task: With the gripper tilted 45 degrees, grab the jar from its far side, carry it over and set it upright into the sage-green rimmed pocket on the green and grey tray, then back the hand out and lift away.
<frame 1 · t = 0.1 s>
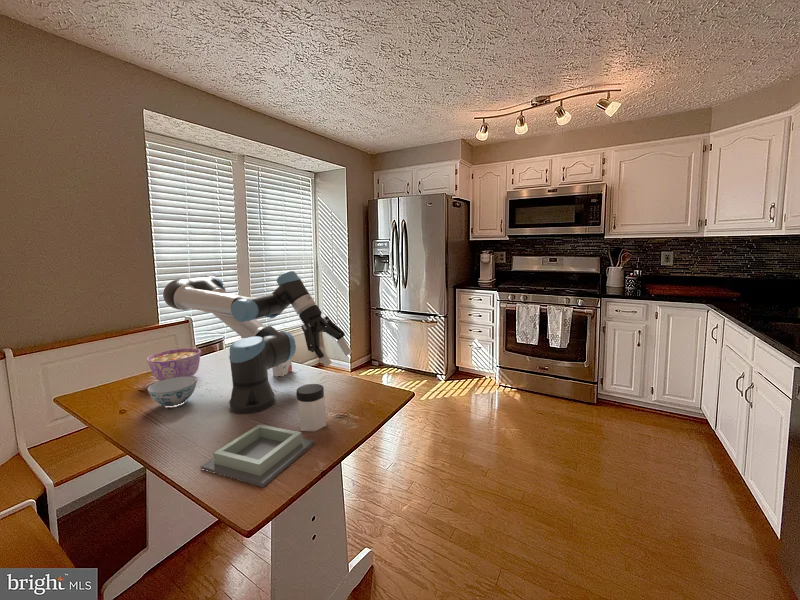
hand: (339, 359, 130), 15 cm above the table, tool tilted 35°, fingers open, 13 cm apart
jar: (312, 425, 115), on the table
bowl of food: (177, 380, 159), on the table
green and grey tray: (260, 456, 98), on the table
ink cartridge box: (282, 373, 164), on the table
chinaware: (175, 404, 134), on the table
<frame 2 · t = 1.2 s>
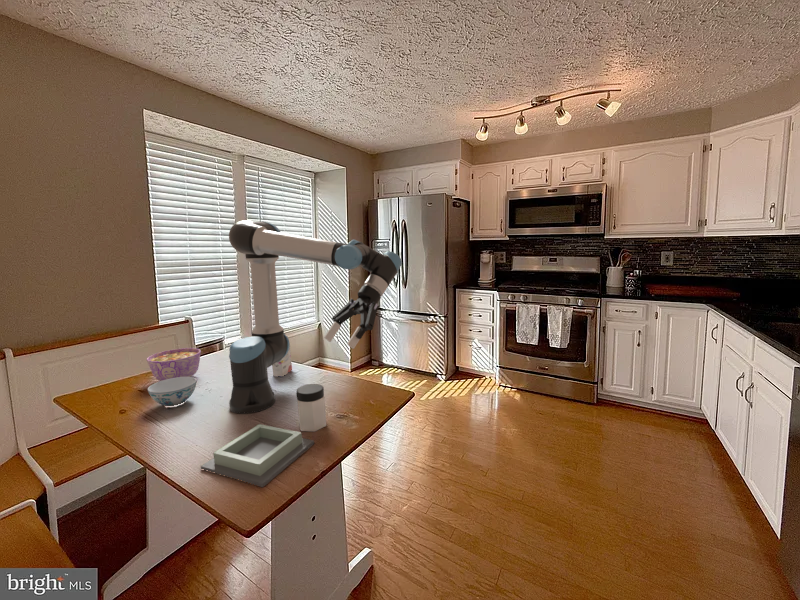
hand: (338, 343, 118), 24 cm above the table, tool tilted 45°, fingers open, 13 cm apart
nothing on the table moved.
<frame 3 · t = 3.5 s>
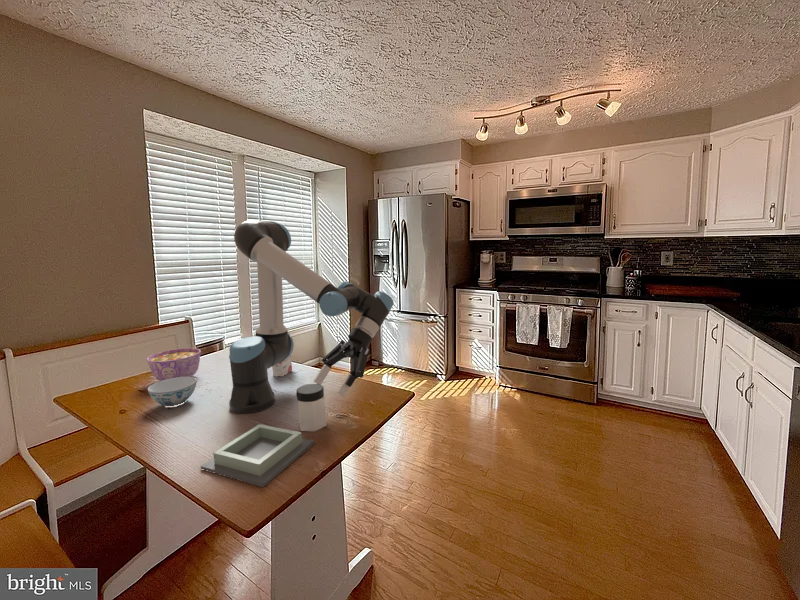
hand: (327, 388, 116), 11 cm above the table, tool tilted 45°, fingers open, 13 cm apart
nothing on the table moved.
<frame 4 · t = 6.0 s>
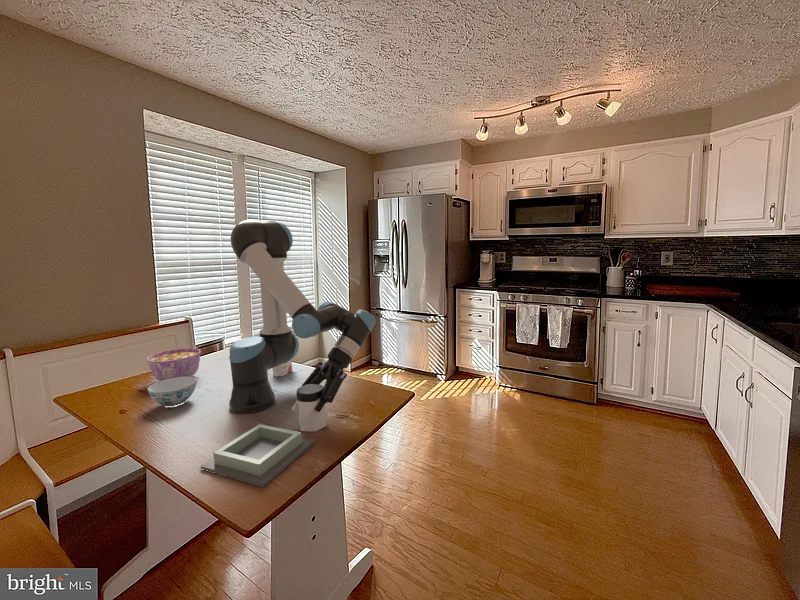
hand: (301, 415, 112), 4 cm above the table, tool tilted 45°, fingers closed on jar, 8 cm apart
jar: (312, 426, 114), on the table, touching gripper
everything else where it was.
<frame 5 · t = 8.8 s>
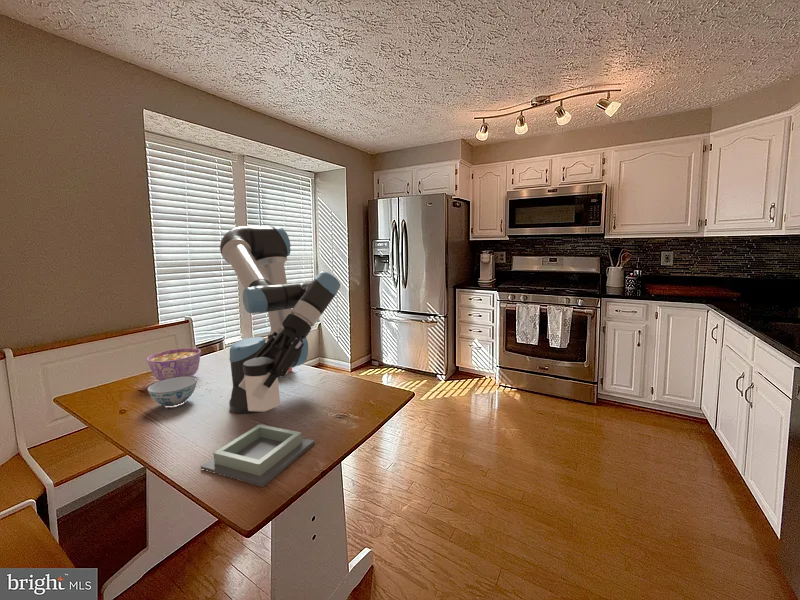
hand: (249, 392, 94), 18 cm above the table, tool tilted 45°, fingers closed on jar, 8 cm apart
jar: (264, 405, 97), point 14 cm above the table, touching gripper
everything else where it was.
when the fingers open (7 cm above the table, at t = 11.6 s): jar drops 1 cm, resting on green and grey tray.
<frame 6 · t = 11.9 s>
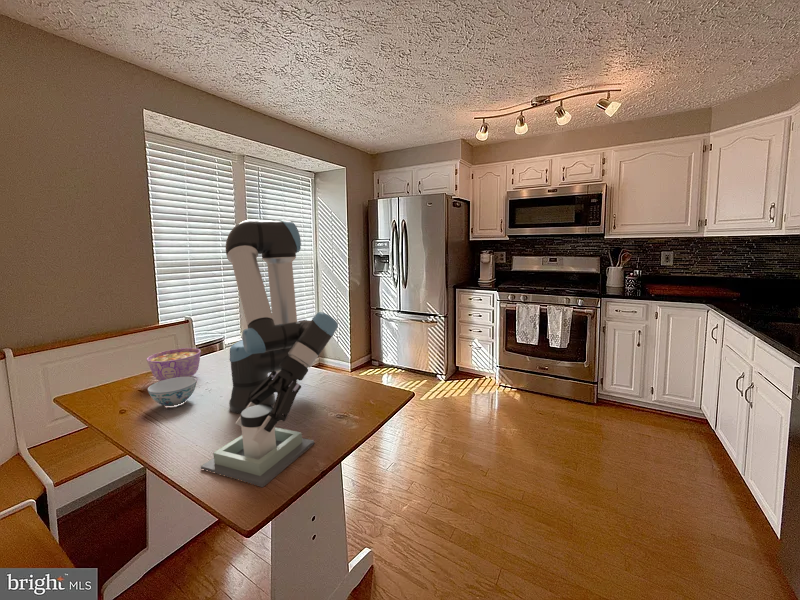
hand: (247, 433, 95), 8 cm above the table, tool tilted 45°, fingers open, 11 cm apart
jar: (261, 454, 98), point 1 cm above the table, touching green and grey tray
everything else where it was.
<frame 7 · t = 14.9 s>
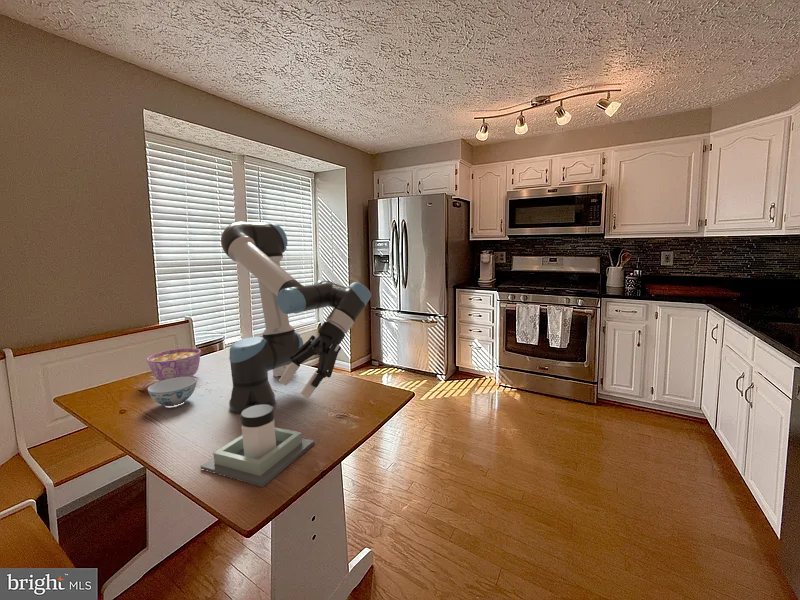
hand: (292, 389, 103), 16 cm above the table, tool tilted 45°, fingers open, 13 cm apart
nothing on the table moved.
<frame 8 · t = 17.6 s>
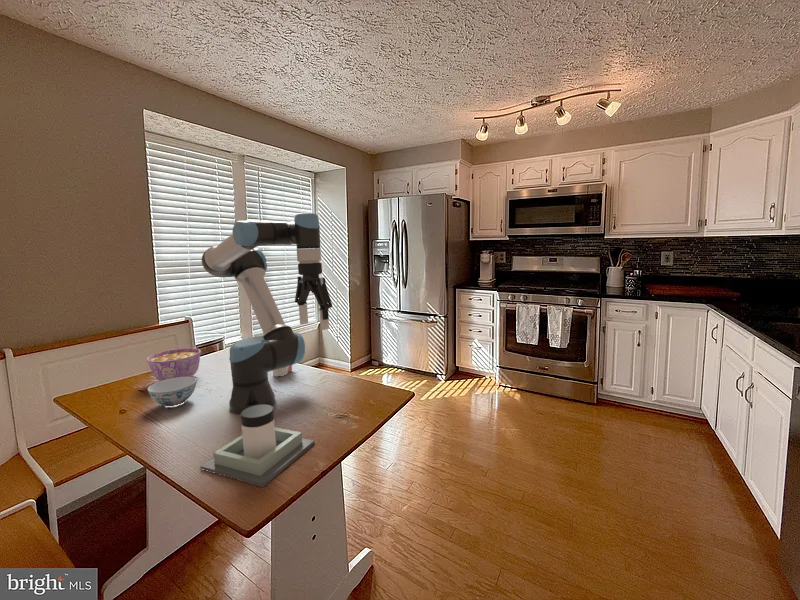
hand: (314, 326, 122), 29 cm above the table, tool pointing down, fingers open, 13 cm apart
nothing on the table moved.
at the end: jar 0.5 cm off-centre on the green and grey tray, point 0.8 cm above the green and grey tray's base; jar tilted 0°; the gripper is holding nothing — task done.
